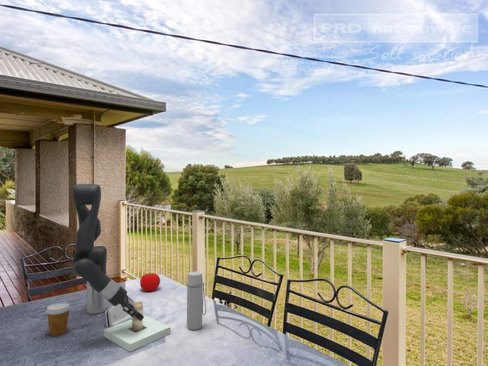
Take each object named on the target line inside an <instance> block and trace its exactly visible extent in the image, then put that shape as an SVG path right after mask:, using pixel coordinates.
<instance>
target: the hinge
mask: <svg viewBox="0 0 488 366" xmlns="http://www.w3.org/2000/svg"><path fill="white" fill-rule="evenodd" d="M131 312H132V311H131ZM104 316H105V317H104V318H105V325H106V329H107V328H110V327H113V326H116V325H118V324H121V323H124V322H126V321H129V320H132V317H131V316H130V315H129V314H128V313H126V312H125V311H123V308H122V307H121V305H120V304H118V305H117V306H113V305H111V306H109V308H108V309H106V310H105V311H104Z"/></svg>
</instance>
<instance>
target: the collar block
mask: <svg viewBox="0 0 488 366" xmlns="http://www.w3.org/2000/svg"><path fill="white" fill-rule="evenodd" d="M143 316H144V318H143V330H141V331H139V332H136V333H135V332H133V331H132V320H129V321H126V322H124V323H121V324H118V325H116V326H112V327H108V328H107V327H106V328H105V329H103V337H104V338H106V339H107V340H109V341H110V342H113V343H114V344H116V345H117V346H119V347H121V348H123V349H125V350H126V351H128V352H130V353H131V352H133V351H135V350H137V349H139V348H141V347H145V346H146V345H149V344H150V343H153V342H155V341H158V340H160V339H161V338H163V337H166V336H169V335H170V334H171V326H169V325H167V324H165V323H162V322H160V321H158V320H156V319H154V318H152V317H149V316H147V315H144V314H143Z"/></svg>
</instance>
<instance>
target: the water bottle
mask: <svg viewBox="0 0 488 366" xmlns="http://www.w3.org/2000/svg"><path fill="white" fill-rule="evenodd" d="M186 281H187V282H186V285H187V286H186V298H187V299H186V328H187V330H188V329H189V330H191V331H195V330H200V329H201V328H202V327H203V316H206V314H207V306H206V305H207V303H206V302H204V301H206V295H205V293H206V292H203V291H205V282H204V281H203V273H202V272H201V271H191V272H188V273H187V279H186ZM204 309H205V310H204Z"/></svg>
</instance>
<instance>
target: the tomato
mask: <svg viewBox="0 0 488 366" xmlns="http://www.w3.org/2000/svg"><path fill="white" fill-rule="evenodd" d="M160 284H161V278H160V276H159V275H158V274H157V273H154V272H153V273H152V272H151V273H150V272H149V273H144V274H143V275H142V276H141V277H140V281H139V286H140V288H141V289H142V290H143V291H144V292H152V291H155V290H157V289H158V288H159V287H160Z"/></svg>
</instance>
